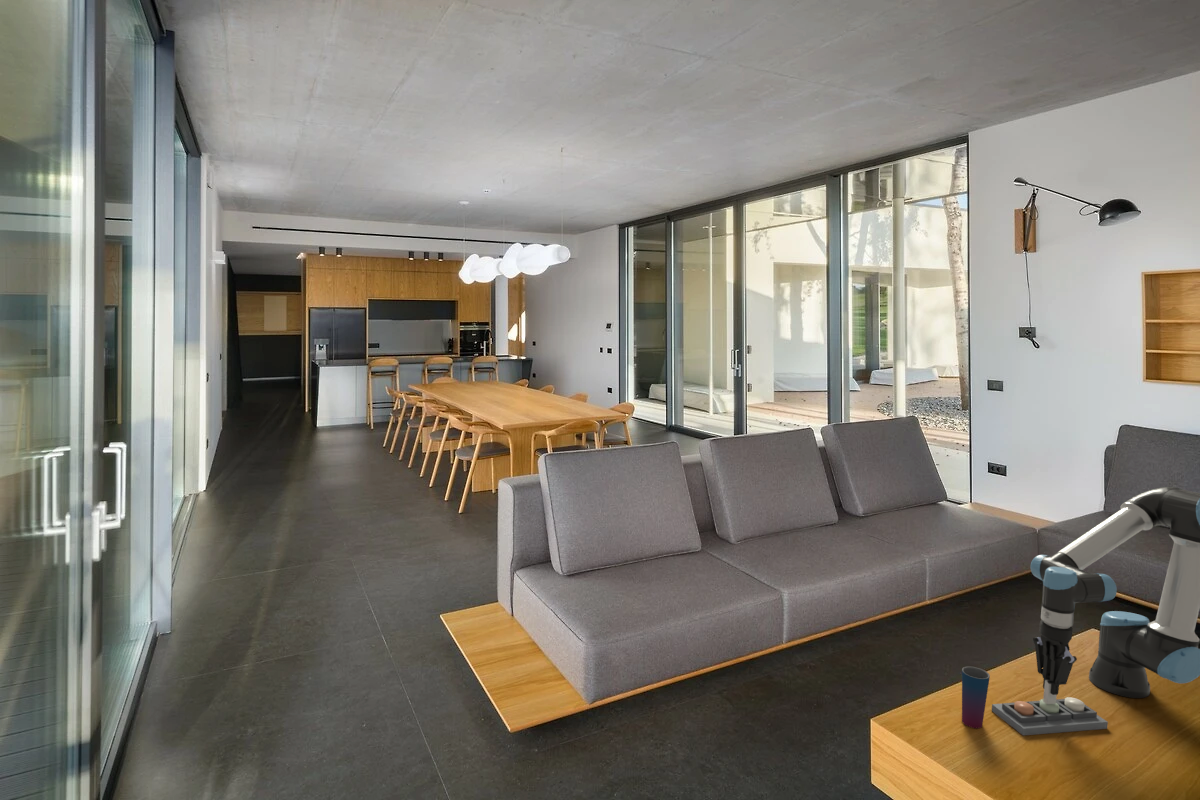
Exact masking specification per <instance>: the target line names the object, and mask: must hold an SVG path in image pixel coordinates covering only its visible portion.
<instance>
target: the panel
mask: <svg viewBox="0 0 1200 800" xmlns="http://www.w3.org/2000/svg"><path fill="white" fill-rule="evenodd" d="M1026 702H1027V703H1029V704H1031V705H1032V706H1033V707H1034V711H1033V715H1028V716H1022V715H1021V714H1019V713H1018V712H1017V711H1015V710H1014V704H1015V702H1005V703H993V704H991V712H993V713H994V714H995V715H996V716H998V718H1000V719H1001V720H1002V721H1004V722H1005V723H1007V724H1008V725H1009V726H1010V727H1012V728H1013V729H1014V730H1016V731H1017V732H1018V733H1020V735H1022V736H1030V735H1031V736H1032V735H1043V734H1044V735H1046V734H1058V733H1069V732H1071V733H1073V732H1083V731H1095V730H1105V729H1106V730H1107V729H1108V726H1109V725H1108V723H1109V721H1107V720H1106V719H1105V718H1102V717H1101V716H1100V715H1098V712H1097V711H1096V710H1094V709H1092V708H1091V707H1089V706H1088V705H1087V704H1085V705H1084V711H1080V712H1073V711H1072V710H1070V709H1069V708H1067V707H1066V706H1064V703H1065V698H1060V699H1059V698H1056V703H1057V704H1058V705H1059V713H1054V714H1048V713H1046V712H1045V711H1043V710H1042V709H1041V708H1039V705H1040V700H1033V701H1032V700H1031V701H1030V700H1029V701H1026Z"/></svg>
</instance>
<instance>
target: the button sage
mask: <svg viewBox="0 0 1200 800" xmlns="http://www.w3.org/2000/svg"><path fill="white" fill-rule="evenodd" d="M1039 701H1040V705H1039V708H1041V709H1042V710H1043V711H1045V712H1046V713H1048V714H1054V713H1059V705H1058V704H1057V703H1056V704H1048V705H1047V704H1046V703H1044V702H1043V698H1041V699H1039Z"/></svg>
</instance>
